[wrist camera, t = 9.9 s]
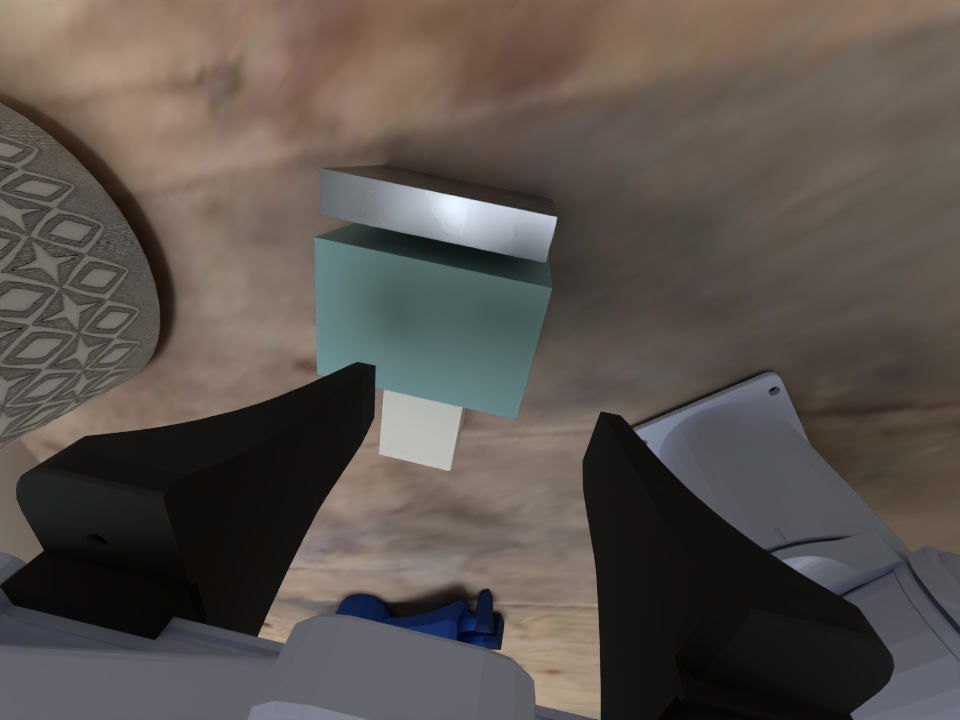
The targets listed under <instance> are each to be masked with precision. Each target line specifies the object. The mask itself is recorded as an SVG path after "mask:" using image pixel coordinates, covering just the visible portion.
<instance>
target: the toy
mask: <svg viewBox="0 0 960 720" xmlns="http://www.w3.org/2000/svg"><path fill="white" fill-rule="evenodd" d="M468 607H469V604H468V603H467V602H466V601H465V600H458V601H456V602H454V603H452V604H449V605H447V606H445V607H443V608H441V609H438V610H435V611H432V612H429V613H426V614H423V615H418V616H411V617H404V618H394V616H393V614H392V613H391V611H390V610H389V609H388V607H387V606H386V604H385V603H384V602H382V601H381V600H379V599H378V598H376V597H373V596H370V595H354V596H350V597H348V598H347V599H345V600H344V601H343V602H342V604H341V605H340V607H339V609H338V610H337V612H336V614H338V615H350V616H354V617H359V618H363V619H367V620H371V621H375V622H380V623H384V624H388V625H392V626H396V627H401V628H405V629H409V630H413V631H418V632H422V633H426V634H430V635H434V636H439V637H443V638H447V639H451V640H455V641H460V642H464V643H468V644H472V645H476V646H481V647H485V648H487V649H492V650H501V645H502V638H503V631H504V620H503V618H502V616H501V614H496V615H495V616H494V617H493V597H492V595H491V593H490V591H489V590H484V591H483V592H482V594H481V595H480V596H479V598H478V602H477V607H476V612H475V615H471V614H470V613H469V612H468Z"/></svg>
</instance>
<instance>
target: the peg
mask: <svg viewBox="0 0 960 720" xmlns="http://www.w3.org/2000/svg"><path fill="white" fill-rule="evenodd" d="M465 413H466V408H463V407H458V406H454V405H450V404H445V403H441V402H436V401H432V400H428V399H423V398H419V397H414V396H410V395H406V394H401V393H397V392H392V391H388V390H384V397H383V410H382V422H381V435H380V448H379V454H381V455H385V456H389V457H393V458H397V459H402V460H406V461H410V462H414V463H418V464H422V465H427V466H431V467H435V468H439V469H443V470H448V471H450V470H451V466H452V463H453V460H454V456H455V453H456V449H457V446H458V442H459V439H460V435H461V432H462V428H463V423H464V418H465Z"/></svg>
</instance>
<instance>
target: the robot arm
mask: <svg viewBox="0 0 960 720" xmlns="http://www.w3.org/2000/svg"><path fill="white" fill-rule="evenodd" d="M375 380H376V365H371V364H366V363H361V362H356V363H353V364H351V365H348V366H346V367H344V368H342V369H340V370H338V371H335V372H333V373H331V374H329V375H327V376H325V377H323V378H320V379H318V380H316V381H314V382H312V383H310V384H307V385H305V386H303V387H300V388H298V389H295V390H293V391H290V392H288V393H286V394H283V395H281V396H278V397H276V398H273V399H270V400H267V401H264V402H262V403H259V404H255V405H252V406H249V407H246V408H243V409H239V410H236V411H232V412H228V413H224V414H220V415H216V416H212V417H208V418H204V419H199V420H195V421H190V422H185V423H180V424H174V425H168V426H162V427H156V428H150V429H143V430H135V431H127V432H118V433H110V434H101V435H91V436H85V437H83V438H81V439H79V440H78V441H76V442H75V443H73V444H71V445H70V446H68V447H67V448H65V449H63V450H62V451H60V452H58V453H57V454H55V455H54V456H52V457H50V458H49V459H47V460H46V461H44V462H42V463H41V464H39V465H38V466H36V467H35V468H33V469H31V470H29V471H28V472H26V473H25V474H23V475H21V477H20V479H19V481H18V483H17V488H16V494H17V495H16V496H17V501H18V503H19V505H20V508H21V511H22V512H23V514H24V516H25V517H26V519H27V521H28V523H29V525H30V526H31V528H32V530H33V531H34V533H35V535H36V537H37V539H38V540H39V542H40V544H41V546H42V547H43V549H44V551H43V552H42V553H41V554H39V555H38V556H37V557H35V558H34V559H33V560H32V561H30V562H29V563H28V564H26V563H25V562H24V561H22V560H21V559H19V558H18V557H15V556H13V555H10V554H7V553H2V552H0V720H597V719H592V718H588V717H584V716H580V715H576V714H571V713H568V712H564V711H559V710H555V709H551V708H547V707H543V706H539V705H535V687H534V680H533V679H532V678H531V677H530V675H529V674H528V673H527V672H526V671H525V670H524V669H523V668H522V667H520V666H519V665H518V664H517V663H516V662H515V661H514V660H513V659H512V658H510V657H507V656H505V655H502V654H500V653H497V652H495V651H492V650H490V649H487V648H485V647H481V646H476V645H472V644H468V643H464V642H460V641H455V640H451V639H447V638H443V637H439V636H434V635H430V634H426V633H422V632H418V631H413V630H409V629H405V628H401V627H396V626H392V625H388V624H384V623H380V622H375V621H371V620H367V619H363V618H359V617H354V616H350V615H338V614H326V613H322V614H320V615H317V616H314V617H311V618H309V619H306V620H303V621H301V622H298V623H296V624H295V626H294V628H293V630H292V632H291V634H290V636H289V637H288V639H287V641H286V643H285V644H284V643H280V642H276V641H271V640H267V639H263V638H259V637H258V634H259V632H260V630H261V627H262V625H263V623H264V621H265V618H266V616H267V614H268V611H269V609H270V607H271V605H272V603H273V601H274V599H275V596H276V594H277V592H278V590H279V588H280V586H281V584H282V581H283V579H284V577H285V575H286V573H287V571H288V569H289V567H290V565H291V563H292V561H293V559H294V557H295V555H296V553H297V551H298V549H299V547H300V545H301V543H302V541H303V539H304V537H305V535H306V533H307V531H308V529H309V527H310V525H311V523H312V521H313V519H314V518H315V516H316V514H317V512H318V510H319V508H320V507H321V505H322V503H323V502H324V500H325V498H326V497H327V495H328V494H329V492H330V491H331V489H332V488H333V486H334V485H335V483H336V482H337V480H338V479H339V477H340V476H341V474H342V473H343V471H344V470H345V468H346V467H347V465H348V464H349V462H350V461H351V459H352V458H353V456H354V455H355V453H356V452H357V450H358V449H359V447H360V445H361V444H362V442H363V440H364V438H365V436H366V434H367V432H368V430H369V428H370V426H371V423H372V421H373V419H374V411H375ZM772 387H776V388H775V390H773V391H770V392H769V390H770V389H771V388H772ZM643 440H646V441H645V442H644V441H643ZM583 492H584V499H585V505H586V511H587V517H588V523H589V529H590V535H591V541H592V547H593V553H594V559H595V567H596V577H597V594H598V612H599V636H600V676H601V720H960V555H958V554H953V553H949V552H943V551H941V550H939V549H937V548H933V547H928V546H925V547H922V548H921V549H919V550H918V551H916V552H914V553H912V552H911V551H910V549H909V548H908V547H907V546H906V545H905V544H904V543H903V542H902V541H901V540H900V539H899V538H898V537H897V536H896V535H895V534H894V533H893V532H892V530H891V529H890V528H889V527H888V526H887V525H886V524H885V523H884V522H883V521H882V520H881V519H880V518H879V517H878V516H877V515H876V514H875V513H874V511H873V510H872V509H871V508H870V507H869V506H868V505H867V504H866V503H865V502H864V501H863V500H862V499H861V498H860V497H859V496H858V495H857V494H856V493H855V491H854V490H853V489H852V488H851V487H850V486H849V485H848V484H847V483H846V482H845V481H844V480H843V479H842V478H841V477H840V476H839V475H838V474H837V472H836V471H835V470H834V469H833V468H832V467H831V466H830V465H829V464H828V463H827V462H826V461H825V460H824V459H823V458H822V457H821V456H820V455H819V453H818V452H817V451H816V450H815V449H814V448H813V447H812V446H811V445H810V443H809V441H808V438H807V436H806V434H805V432H804V429H803V427H802V425H801V423H800V420H799V418H798V416H797V413H796V411H795V409H794V407H793V404H792V402H791V400H790V398H789V395H788V393H787V391H786V389H785V386H784V384H783V382H782V379H781V378H780V377H779V376H778V375H777V374H776V373H773V372H767V373H763V374H761V375H759V376H756V377H754V378H751V379H749V380H747V381H744V382H742V383H739V384H737V385H735V386H732V387H730V388H727V389H725V390H723V391H720V392H718V393H715V394H713V395H711V396H708V397H706V398H703V399H701V400H699V401H696V402H694V403H691V404H689V405H687V406H684V407H682V408H679V409H677V410H675V411H672V412H670V413H667V414H665V415H663V416H660V417H658V418H655V419H653V420H651V421H648V422H646V423H643V424H641V425H639V426H636V427H634V428H632V427H631V426H630V425H629V424H628V423H627V422H626V421H625V420H624V419H623V418H622V417H621V416H620V415H616V414H611V413H606V412H600V415H599V418H598V420H597V423H596V426H595V429H594V431H593V434H592V437H591V439H590V442H589V445H588V448H587V450H586V453H585V456H584V459H583Z"/></svg>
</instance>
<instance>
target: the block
mask: <svg viewBox="0 0 960 720" xmlns="http://www.w3.org/2000/svg"><path fill="white" fill-rule="evenodd" d="M314 241H315V285H316V330H317V375H322V376H327V375H329V374H331V373H333V372H335V371H338V370H340V369H342V368H344V367H346V366H348V365H351V364H353V363H356V362H361V363H366V364H371V365H376V380H375V388H379V389H384V390H388V391H392V392H397V393H401V394H406V395H410V396H414V397H419V398H423V399H428V400H432V401H436V402H441V403H445V404H450V405H454V406H458V407H463V408H467V409H472V410H476V411H480V412H485V413H489V414H494V415H498V416H502V417H507V418H511V419H517V416H518V412H519V408H520V405H521V401H522V398H523V394H524V390H525V387H526V383H527V379H528V376H529V372H530V369H531V365H532V361H533V358H534V354H535V350H536V347H537V343H538V339H539V336H540V332H541V329H542V325H543V321H544V318H545V314H546V310H547V307H548V303H549V299H550V296H551V292H552V289H553V288H552V278H551V269H550V259H549V256H548V257H547V261H546V263H544V262H539V261H534V260H529V259H525V258H520V257H515V256H511V255H506V254H501V253H496V252H492V251H487V250H482V249H477V248H473V247H468V246H463V245H459V244H454V243H449V242H444V241H440V240H435V239H430V238H426V237H421V236H416V235H411V234H407V233H402V232H397V231H393V230H388V229H383V228H378V227H374V226H369V225H364V224H360V223H354V224H351V225H348V226H346V227H343V228H340V229H337V230H334V231H331V232H329V233H326V234H323V235H320V236H317V237H314Z"/></svg>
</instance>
